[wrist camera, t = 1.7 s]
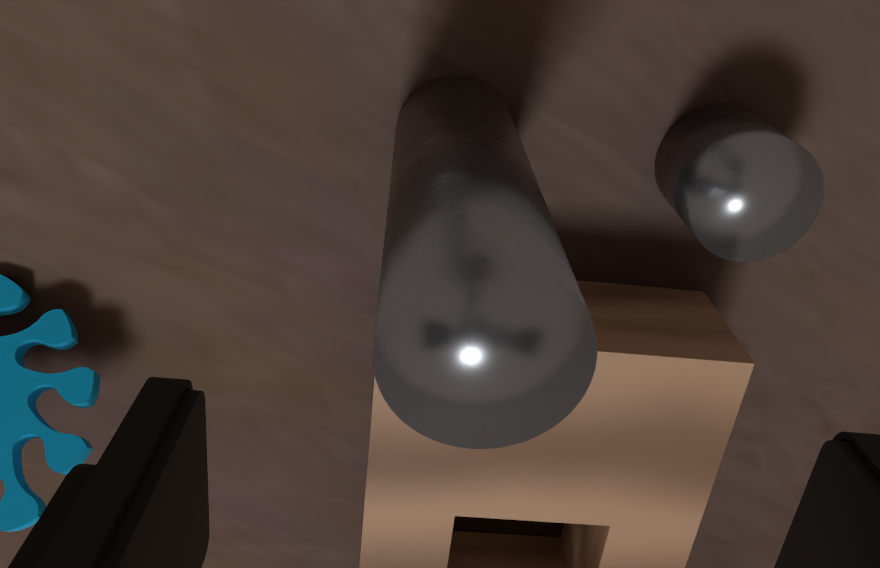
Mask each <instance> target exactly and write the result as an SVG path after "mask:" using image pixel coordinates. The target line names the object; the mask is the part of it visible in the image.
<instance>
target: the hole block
mask: <svg viewBox="0 0 880 568" xmlns="http://www.w3.org/2000/svg"><path fill="white" fill-rule="evenodd" d="M576 281H577V284H578V286H579V289H580V291H581V294H582V296H583V299H584V301H585V304H586V306H587V309H588V311H589V314H590V316H591V319H592V322H593V325H594V328H595V331H596V338H597V362H596V368H595V372H594V375H593V378H592V381H591V383H590V385H589V387H588V389H587V392H586V393H585V395H584V396H583V398H582V399H581V401H580V402H579V404H578V405H577V406H576V407H575V408H574V409H573V411H572V412H571V413H570V414H569V415H568V416H567V417H565V418H564V419H563V420H562V421H561V422H560V423H558V424H557V425H556V426H554V427H553V428H551V429H550V430H548V431H546V432H545V433H543V434H541V435H539V436H537V437H535V438H532V439H530V440H528V441H525V442H522V443H519V444H515V445H512V446H507V447H501V448H493V449H468V448H460V447H455V446H450V445H446V444H443V443H440V442H437V441H434V440H432V439H430V438H428V437H425V436H423V435H421V434H420V433H418V432H416V431H415V430H413V429H412V428H410V427H409V426H408V425H407V424H405V423H404V422H403V421H402V420H401V419H399V417H398V416H397V415H396V414H395V413H394V412H393V411H392V410H391V409H390V407H389V406H388V404H387V403H386V401H385V400H384V398H383V396H382V394H381V392H380V390H379V388H378V385H377V382H376V378H375V380H374V393H373V405H372V418H371V430H370V443H369V455H368V468H367V480H366V492H365V505H364V517H363V530H362V542H361V555H360V567H359V568H685V566H686V563H687V560H688V557H689V554H690V551H691V548H692V545H693V542H694V539H695V536H696V534H697V531H698V528H699V525H700V522H701V519H702V516H703V513H704V510H705V507H706V504H707V501H708V498H709V495H710V493H711V490H712V487H713V484H714V481H715V478H716V475H717V472H718V469H719V466H720V463H721V460H722V457H723V455H724V452H725V449H726V446H727V443H728V440H729V437H730V434H731V431H732V428H733V425H734V422H735V419H736V417H737V414H738V411H739V408H740V405H741V402H742V399H743V396H744V393H745V390H746V387H747V384H748V381H749V379H750V376H751V373H752V370H753V367H754V362H753V361H752V359H751V358H750V357H749V355H748V354H747V352H746V351H745V349H744V348H743V347H742V345H741V344H740V342H739V341H738V339H737V338H736V337H735V335H734V334H733V332H732V331H731V329H730V328H729V327H728V325H727V324H726V322H725V321H724V319H723V318H722V317H721V315H720V314H719V312H718V311H717V309H716V308H715V307H714V305H713V304H712V302H711V301H710V299H709V298H708V297H707V295H706V294H705V292H704V291H696V290H684V289H673V288H661V287H649V286H637V285H626V284H614V283H602V282H591V281H579V280H576ZM455 516H462V517H477V518H493V519H509V520H524V521H540V522H555V523H564V525H563V529H562V533H561V538H560V537H544V536H528V535H512V534H496V533H480V532H464V531H453V525H454V518H455Z"/></svg>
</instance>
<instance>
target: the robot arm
mask: <svg viewBox="0 0 880 568" xmlns="http://www.w3.org/2000/svg"><path fill="white" fill-rule="evenodd" d="M208 541H209V505H208V473H207V442H206V411H205V395H204V392H203V391H196V390H193V388H192V384H191V381H190V380H184V379H171V378H159V377H150V378H148V380H147V381H146V382H145V384H144V386H143V387H142V389H141V391H140V392H139V394H138V396H137V397H136V399H135V401H134V402H133V404H132V406H131V408H130V409H129V411H128V413H127V414H126V416H125V418H124V419H123V421H122V423H121V424H120V426H119V428H118V429H117V431H116V433H115V434H114V436H113V438H112V440H111V441H110V443H109V445H108V446H107V448H106V450H105V451H104V453H103V455H102V456H101V458H100V460H99V461H98V463H97V465H89V464H78V465H76V466H74V467H73V468H72V469H71V470H70V472H69V473H68V474H67V475H66V477H65V479H64V480H63V482H62V483H61V485H60V486H59V488H58V490H57V491H56V493H55V494H54V496H53V497H52V499H51V501H50V502H49V504H48V505H47V507H46V508H45V510H44V512H43V513H42V515H41V516H40V518H39V519H38V521H37V523H36V524H35V526H34V527H33V529H32V530H31V532H30V534H29V535H28V537H27V538H26V540H25V541H24V543H23V545H22V546H21V548H20V549H19V551H18V553H17V554H16V556H15V557H14V559H13V560H12V562H11V564H10V565H9V567H8V568H201V567H202V564H203V562H204V559H205V555H206V552H207V547H208ZM774 568H880V435H878V434H866V433H854V432H840V433H838V434H837V435H836V436H835V437H834V438H833V440H829V441H826V442H825V443H824V444H823V446H822V448H821V450H820V453H819V455H818V458H817V460H816V463H815V466H814V468H813V471H812V473H811V476H810V478H809V481H808V483H807V486H806V488H805V491H804V493H803V496H802V498H801V501H800V503H799V506H798V509H797V511H796V514H795V516H794V519H793V521H792V524H791V526H790V529H789V531H788V534H787V536H786V539H785V541H784V544H783V547H782V549H781V552H780V554H779V557H778V559H777V562H776V564H775V567H774Z"/></svg>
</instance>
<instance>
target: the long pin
mask: <svg viewBox="0 0 880 568" xmlns="http://www.w3.org/2000/svg"><path fill="white" fill-rule="evenodd" d="M596 362H597V338H596V331H595V328H594V325H593V322H592V319H591V316H590V314H589V311H588V309H587V306H586V304H585V301H584V299H583V296H582V294H581V291H580V289H579V286H578V284H577V281H576V279H575V276H574V273H573V271H572V268H571V266H570V263H569V261H568V258H567V256H566V253H565V251H564V248H563V246H562V243H561V241H560V238H559V236H558V233H557V231H556V228H555V226H554V223H553V220H552V218H551V215H550V213H549V210H548V208H547V205H546V203H545V200H544V198H543V195H542V193H541V190H540V188H539V185H538V183H537V180H536V178H535V175H534V172H533V170H532V167H531V165H530V162H529V160H528V157H527V155H526V152H525V150H524V147H523V145H522V142H521V140H520V137H519V135H518V132H517V130H516V127H515V125H514V122H513V119H512V117H511V114H510V112H509V110H508V108H507V106H506V104H505V103H504V101H503V100H502V98H501V97H500V96H499V95H498V94H497V93H496V92H495V91H494V90H493V89H491V88H490V87H489V86H487V85H485V84H484V83H482V82H479V81H477V80H474V79H471V78H466V77H456V76H453V77H444V78H440V79H437V80H434V81H431V82H429V83H427V84H425V85H424V86H422V87H421V88H419V89H418V90H417V91H416V92H415V93H414V94H412V95H411V97H410V98H409V99H408V100H407V101H406V103H405V105H404V106H403V108H402V110H401V112H400V115H399V117H398V121H397V126H396V133H395V143H394V153H393V162H392V172H391V181H390V191H389V201H388V210H387V220H386V229H385V239H384V249H383V258H382V268H381V277H380V287H379V297H378V306H377V316H376V326H375V335H374V345H373V368H374V375H375V378H376V382H377V385H378V388H379V390H380V392H381V394H382V396H383V398H384V400H385V401H386V403H387V404H388V406H389V407H390V409H391V410H392V411H393V412H394V413H395V414H396V415H397V416H398V417H399V419H401V420H402V421H403V422H404V423H405V424H407V425H408V426H409V427H410V428H412V429H413V430H415V431H416V432H418V433H420V434H421V435H423V436H425V437H428V438H430V439H432V440H434V441H437V442H440V443H443V444H446V445H450V446H455V447H460V448H468V449H493V448H501V447H507V446H512V445H515V444H519V443H522V442H525V441H528V440H530V439H532V438H535V437H537V436H539V435H541V434H543V433H545V432H546V431H548V430H550V429H551V428H553V427H554V426H556V425H557V424H558V423H560V422H561V421H562V420H563V419H564V418H565V417H567V416H568V415H569V414H570V413H571V412H572V411H573V409H574V408H575V407H576V406H577V405H578V404H579V402H580V401H581V399H582V398H583V396H584V395H585V393H586V392H587V389H588V387H589V385H590V383H591V381H592V378H593V375H594V372H595V368H596Z"/></svg>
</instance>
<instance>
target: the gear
mask: <svg viewBox="0 0 880 568" xmlns="http://www.w3.org/2000/svg"><path fill="white" fill-rule="evenodd" d="M30 299H31V298H30V296H29V295H28V294H27V293H26V292H25V291H24V290H23V289H22V288H21V287H19V286H18V285H17V284H16V283H15V282H13V281H11V280H10V279H8V278H6V277H5V276H3V275H1V274H0V316H3V315H10V314H15V313H18V312H20V311H22V310H23V309H25V308H26V307H27V306H28V304H29V302H30ZM77 343H78V334H77V330H76V328H75V325H74V323H73V321H72V320H71V318H70V316H69V315H68V314H67V313H66V312H65V311H63V310H62V309H54V310H50V311H48V312H46V313H45V314H43V315H42V316H41V317H40V319H39V320H38V321H36V322H35V323H34V324H33V325H31V326H30V327H28V328H26V329H25V330H23V331H20V332H18V333H15V334H11V335H7V336H1V337H0V479H1V480H2V481H3V482H4V484H5V493H4V496H3V498H2V500H1V502H0V529H1V530H2V531H18V530H22V529H25V528H28V527H30V526H32V525H34V524H36V523H37V521H38V519H39V518H40V516H41V515H42V513H43V512H44V510H45V508H46V505H45V503H44V501H43V500H42V499H41V498H40V497H38V496H37V495H36V494H35V493H34V492H33V491H32V490H31V489H30V488H29V486H28V484H27V483H26V481H25V478H24V475H23V470H22V461H21V451H22V448H23V446H24V444H25V443H26V442H27V441H29V440H30V439H32V438H35V437H40V438H41V439H42V440H43V442H44V445H45V455H46V462H47V464H48V466H49V467H50V468H51V469H52V470H54V471H55V472H58V473H62V474H68V473H69V472H70V470H71V469H72V468H73V467H74V466H76V465H78V464H83V463H84V462H85V460H86V459H87V458H88V456H89V455H90V453H91V451H92V450H93V448H92V446H91V444H90V443H89V442H88V441H87V440H85V439H84V438H81V437H79V436H76V435H73V434H64V433H60V432H58V431H56V430H54V429H53V428H52V427H50V426H49V425H48V424H47V423H46V422H45V421H44V419H43V418H42V417H41V416H40V414H39V413H38V411H37V410H36V400H37V398H38V396H39V395H40V394H41V393H42V392H44V391H46V390H48V389H56V390H57V391H58V392H59V393H60V395H61V396H62V397H63V398H64V399H65V400H66V401H67V402H69V403H71V404H73V405H75V406H77V407H80V408H88V407H91V406H93V405H94V403H95V401H96V399H97V396H98V393H99V387H100V375H98V374H97V373H95V372H94V371H92V370H91V369H89V368H86V367H78V368H74V369H71V370H69V371H66V372H61V373H53V374H48V373H40V372H36V371H32V370H29V369H26V367H25V366H24V363H23V358H24V355H25V353H26V351H27V350H28V349H30V348H31V347H33V346H35V345H45V346H48V347H51V348H54V349H58V350H65V349H69V348H71V347H73V346H74V345H76V344H77Z"/></svg>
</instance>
